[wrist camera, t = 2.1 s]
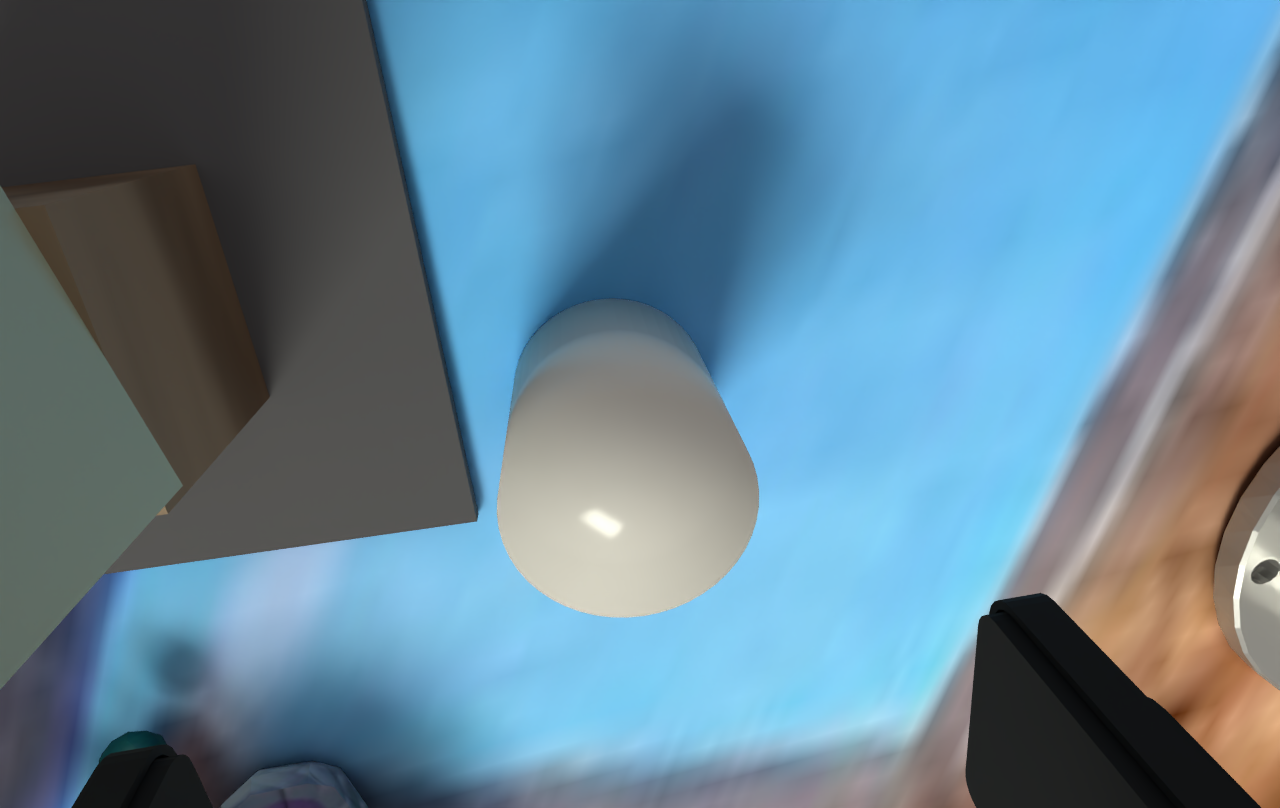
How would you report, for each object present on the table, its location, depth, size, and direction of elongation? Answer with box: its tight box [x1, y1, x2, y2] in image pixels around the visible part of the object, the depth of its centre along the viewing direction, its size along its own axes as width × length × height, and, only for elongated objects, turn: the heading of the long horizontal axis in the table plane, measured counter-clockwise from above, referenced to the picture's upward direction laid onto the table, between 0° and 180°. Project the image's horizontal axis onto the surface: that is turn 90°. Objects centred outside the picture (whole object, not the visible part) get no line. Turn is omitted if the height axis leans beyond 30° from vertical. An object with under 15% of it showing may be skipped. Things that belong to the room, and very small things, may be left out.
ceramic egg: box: [497, 298, 759, 617], centre depth 18 cm, size 5×5×6 cm
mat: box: [0, 0, 478, 574], centre depth 18 cm, size 14×14×1 cm
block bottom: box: [2, 164, 270, 516], centre depth 16 cm, size 6×6×6 cm
